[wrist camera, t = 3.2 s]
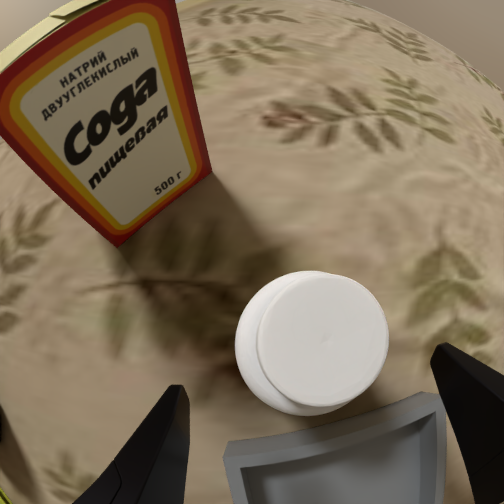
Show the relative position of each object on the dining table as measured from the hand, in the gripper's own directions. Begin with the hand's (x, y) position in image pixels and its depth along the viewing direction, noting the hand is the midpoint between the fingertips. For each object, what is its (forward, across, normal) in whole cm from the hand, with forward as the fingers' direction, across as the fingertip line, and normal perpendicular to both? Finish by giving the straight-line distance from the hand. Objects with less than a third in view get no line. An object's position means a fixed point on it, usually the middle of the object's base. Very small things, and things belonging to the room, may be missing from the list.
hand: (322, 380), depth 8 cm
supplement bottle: (+7, 0, +6) cm, 9 cm away
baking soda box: (+17, +10, -4) cm, 20 cm away
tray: (-2, -3, +14) cm, 14 cm away
